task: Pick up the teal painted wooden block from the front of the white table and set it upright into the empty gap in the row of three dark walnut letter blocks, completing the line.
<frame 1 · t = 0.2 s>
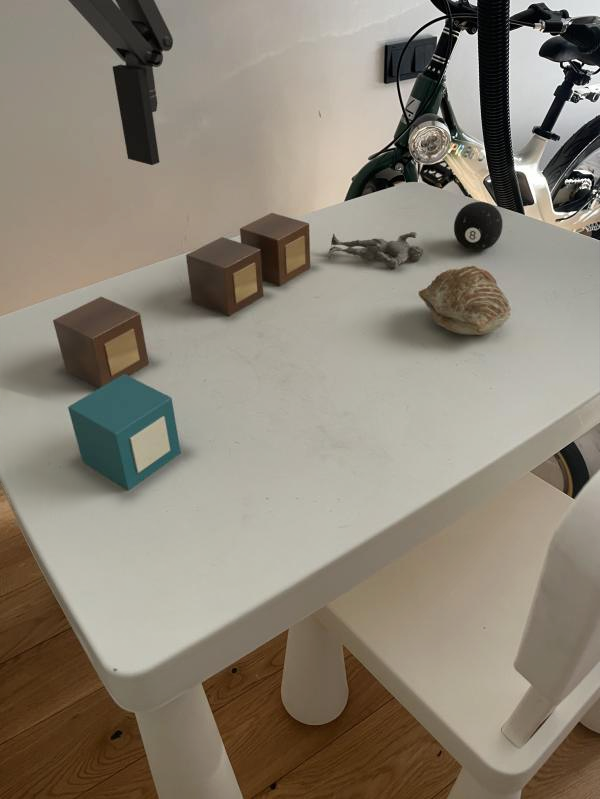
hand: (69, 188, 51), 23 cm above the table, tool pointing down, fingers open, 13 cm apart
teal block: (132, 457, 64), on the table
billiard ball: (475, 249, 96), on the table
walnut block c: (277, 270, 92), on the table
seashell: (458, 328, 80), on the table
walnut block b: (227, 298, 87), on the table
figurine: (374, 259, 94), on the table
walnut block a: (107, 367, 75), on the table
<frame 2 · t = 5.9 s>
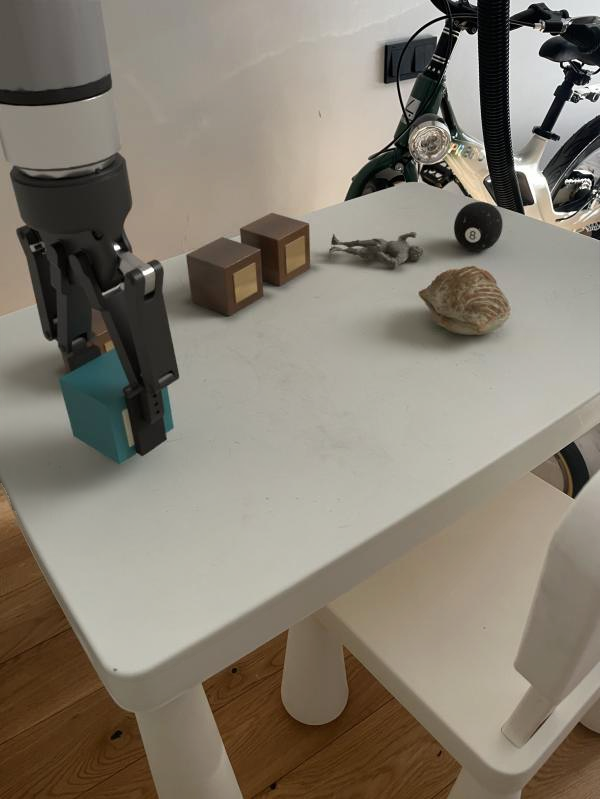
hand: (124, 430, 62), 3 cm above the table, tool pointing down, fingers closed on teal block, 6 cm apart
teal block: (124, 432, 62), point 3 cm above the table, touching gripper
everything else where it was.
when the fingers open (0 cm above the table, at t = 11.0 s): teal block stays where it is, on the table.
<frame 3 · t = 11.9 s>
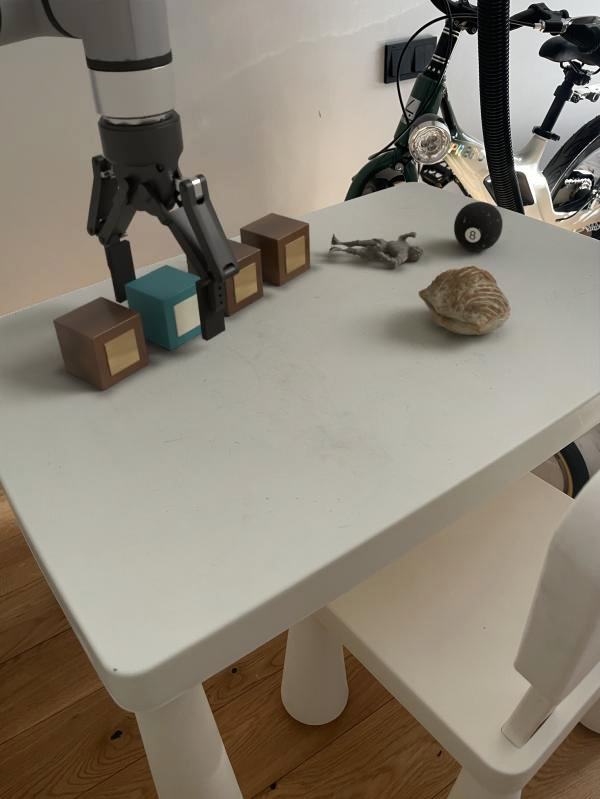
hand: (168, 315, 80), 2 cm above the table, tool pointing down, fingers open, 13 cm apart
teal block: (172, 330, 81), on the table
everything else where it was.
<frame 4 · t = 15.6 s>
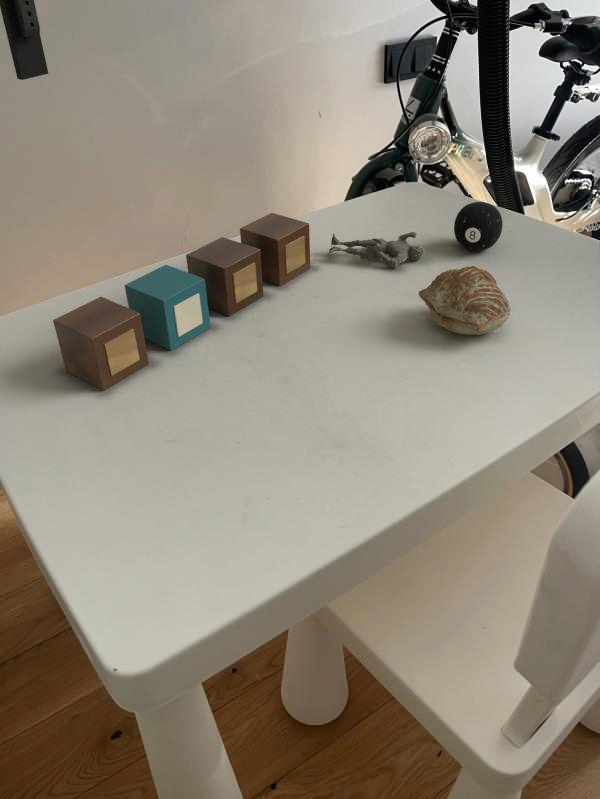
nothing on the table moved.
at the end: teal block 0.0 cm from the target spot on the table beside the walnut block a, on the table; teal block tilted 0°; walnut block b moved 0.0 cm from its start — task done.
